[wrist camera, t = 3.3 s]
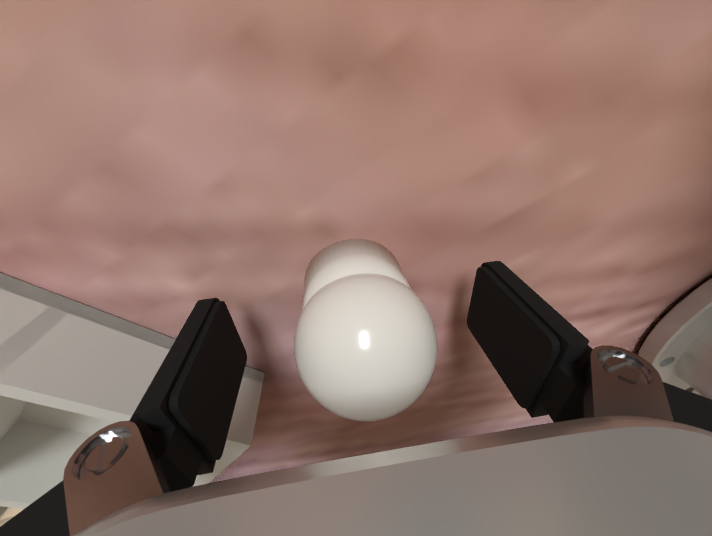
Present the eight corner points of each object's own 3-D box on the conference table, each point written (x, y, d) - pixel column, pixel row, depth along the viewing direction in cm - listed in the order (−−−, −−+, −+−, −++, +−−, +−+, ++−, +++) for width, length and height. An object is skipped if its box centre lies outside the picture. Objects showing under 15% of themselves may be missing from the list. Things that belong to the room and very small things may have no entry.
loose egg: (426, 273, 12) (497, 389, 7) (358, 335, 14) (380, 464, 9) (347, 211, 10) (373, 315, 5) (278, 292, 12) (251, 428, 7)
